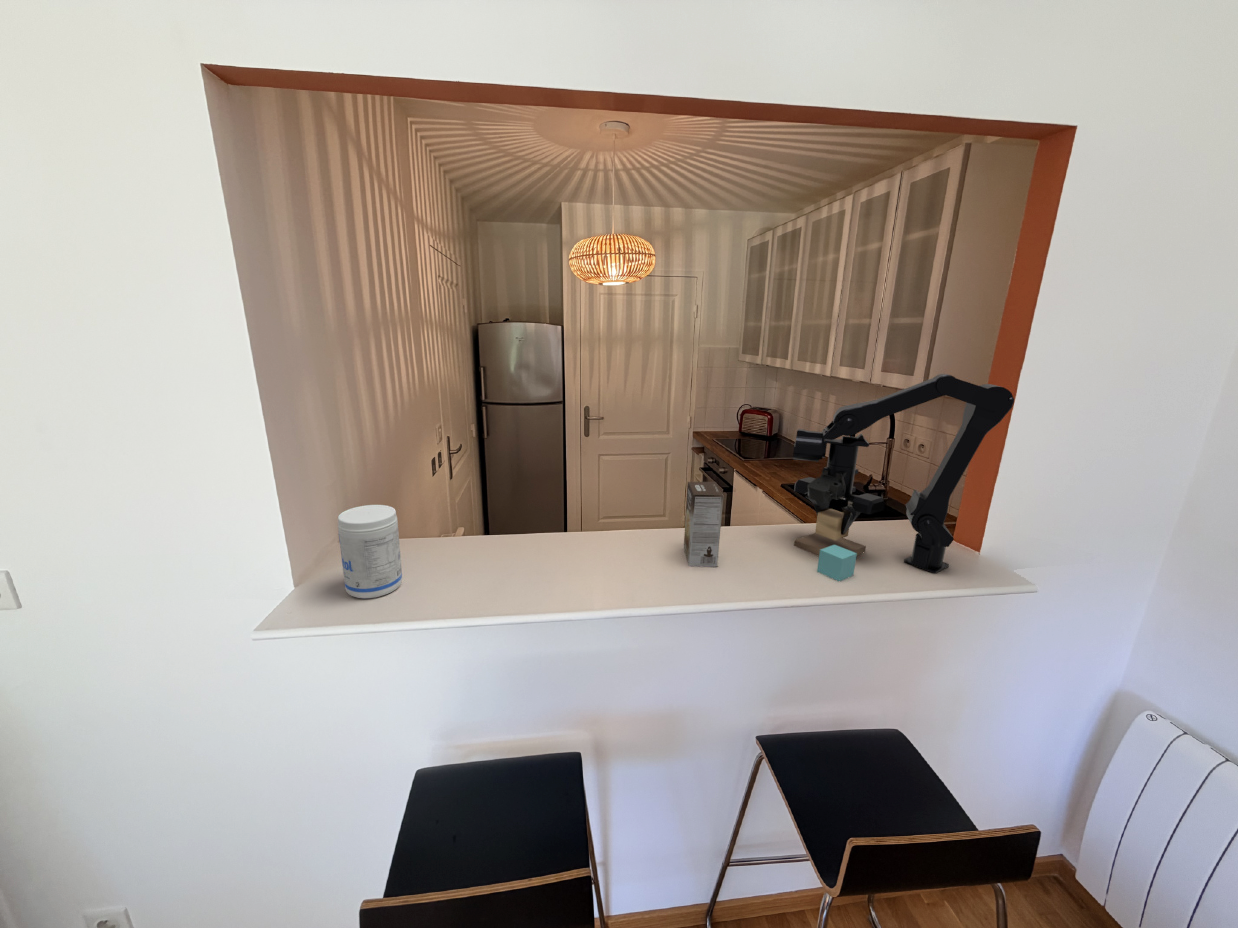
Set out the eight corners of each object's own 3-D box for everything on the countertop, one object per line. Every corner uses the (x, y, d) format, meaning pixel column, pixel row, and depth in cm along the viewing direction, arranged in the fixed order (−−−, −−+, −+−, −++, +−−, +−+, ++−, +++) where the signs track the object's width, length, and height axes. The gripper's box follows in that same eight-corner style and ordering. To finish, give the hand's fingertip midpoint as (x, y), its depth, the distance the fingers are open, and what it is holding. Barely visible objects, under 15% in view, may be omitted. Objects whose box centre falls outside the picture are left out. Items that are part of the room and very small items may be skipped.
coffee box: (682, 548, 111) (686, 480, 107) (710, 549, 111) (715, 481, 107) (688, 567, 102) (693, 493, 98) (718, 567, 102) (725, 494, 98)
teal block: (831, 566, 104) (834, 544, 103) (853, 575, 100) (856, 553, 99) (816, 571, 102) (820, 549, 100) (838, 581, 98) (842, 558, 96)
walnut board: (821, 537, 120) (822, 530, 120) (864, 554, 112) (865, 546, 111) (793, 547, 114) (794, 539, 114) (837, 565, 105) (838, 557, 105)
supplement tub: (337, 588, 90) (326, 513, 87) (388, 570, 97) (380, 500, 94) (360, 606, 84) (350, 527, 81) (413, 586, 92) (406, 512, 88)
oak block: (828, 528, 115) (831, 508, 114) (848, 535, 111) (851, 515, 110) (815, 532, 112) (817, 512, 111) (835, 540, 108) (838, 519, 107)
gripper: (782, 459, 111) (775, 523, 115) (861, 479, 96) (850, 553, 100) (813, 453, 117) (805, 515, 121) (891, 472, 102) (879, 541, 106)
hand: (832, 530), depth 112 cm, fingers closed on oak block, 5 cm apart
